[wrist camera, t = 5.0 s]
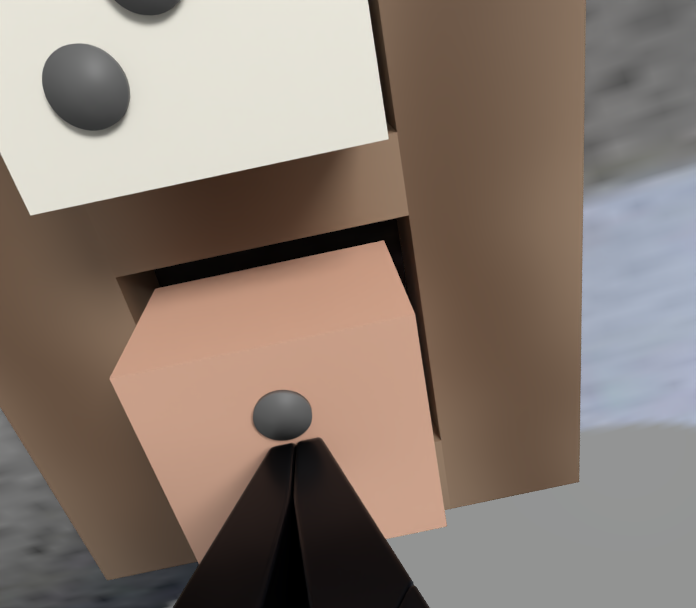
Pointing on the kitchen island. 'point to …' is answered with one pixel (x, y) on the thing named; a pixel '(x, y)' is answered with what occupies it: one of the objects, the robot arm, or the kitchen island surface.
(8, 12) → the button cream
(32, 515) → the kitchen island surface
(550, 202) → the button board
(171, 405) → the salmon pink square block
